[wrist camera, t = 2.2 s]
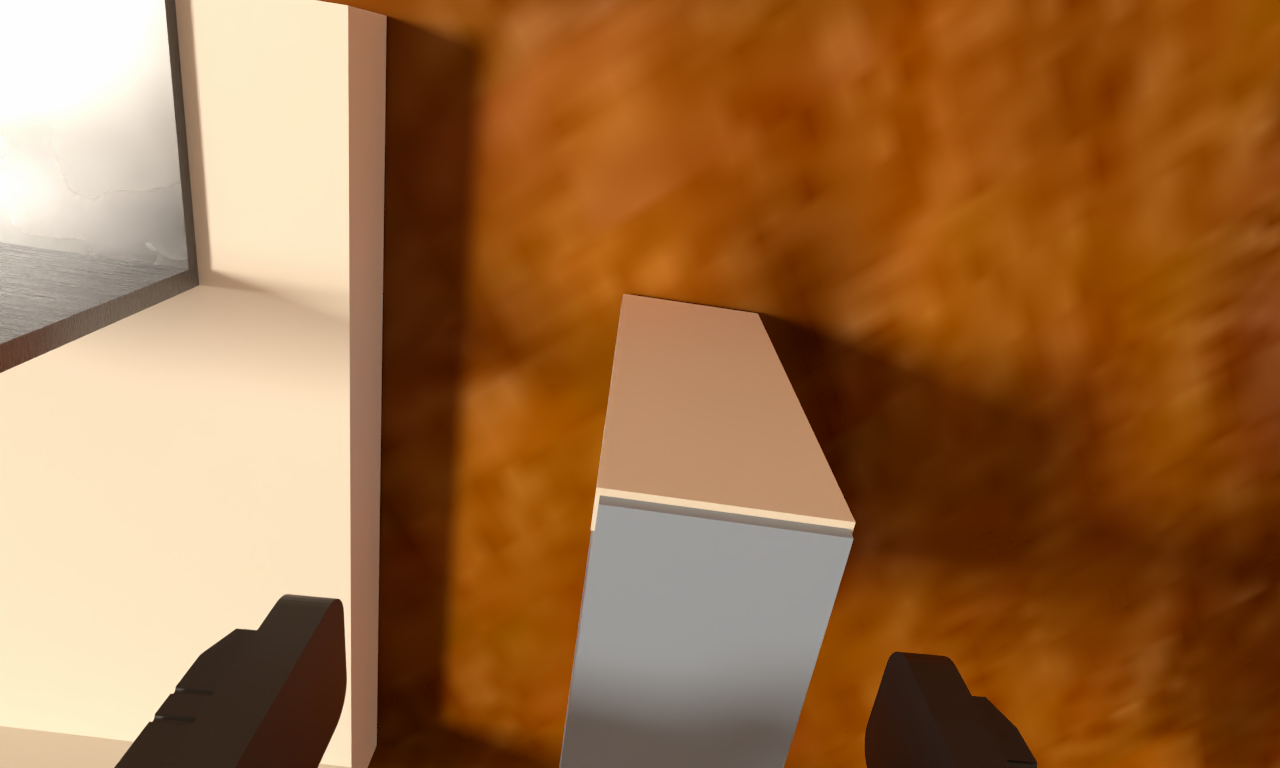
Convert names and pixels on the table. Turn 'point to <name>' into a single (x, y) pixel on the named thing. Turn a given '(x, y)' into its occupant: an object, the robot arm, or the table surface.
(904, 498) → the table surface
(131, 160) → the bookend
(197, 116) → the shelf
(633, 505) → the small book
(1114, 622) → the table surface
